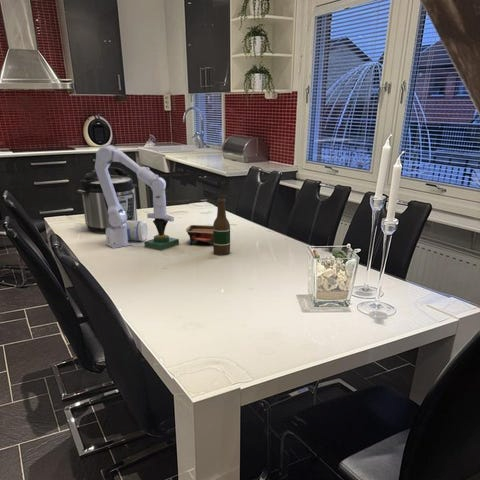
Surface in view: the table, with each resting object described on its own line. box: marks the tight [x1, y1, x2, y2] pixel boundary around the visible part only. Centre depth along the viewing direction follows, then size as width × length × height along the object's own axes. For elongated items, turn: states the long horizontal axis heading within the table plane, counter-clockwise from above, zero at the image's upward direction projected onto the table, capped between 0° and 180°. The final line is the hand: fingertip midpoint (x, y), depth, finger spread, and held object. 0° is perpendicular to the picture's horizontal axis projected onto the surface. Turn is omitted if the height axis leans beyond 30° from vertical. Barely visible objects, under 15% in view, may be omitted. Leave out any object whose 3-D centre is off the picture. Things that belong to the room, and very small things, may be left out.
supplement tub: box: [125, 220, 149, 242], centre depth 227 cm, size 10×10×15 cm
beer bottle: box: [212, 197, 231, 256], centre depth 205 cm, size 8×8×24 cm
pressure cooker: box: [76, 166, 138, 234], centre depth 243 cm, size 30×28×32 cm
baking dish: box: [185, 224, 213, 246], centre depth 224 cm, size 14×18×10 cm
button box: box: [143, 234, 180, 251], centre depth 219 cm, size 13×10×4 cm
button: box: [156, 233, 167, 238], centre depth 218 cm, size 4×4×2 cm
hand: (161, 235), depth 218 cm, fingers closed, pressing on button
